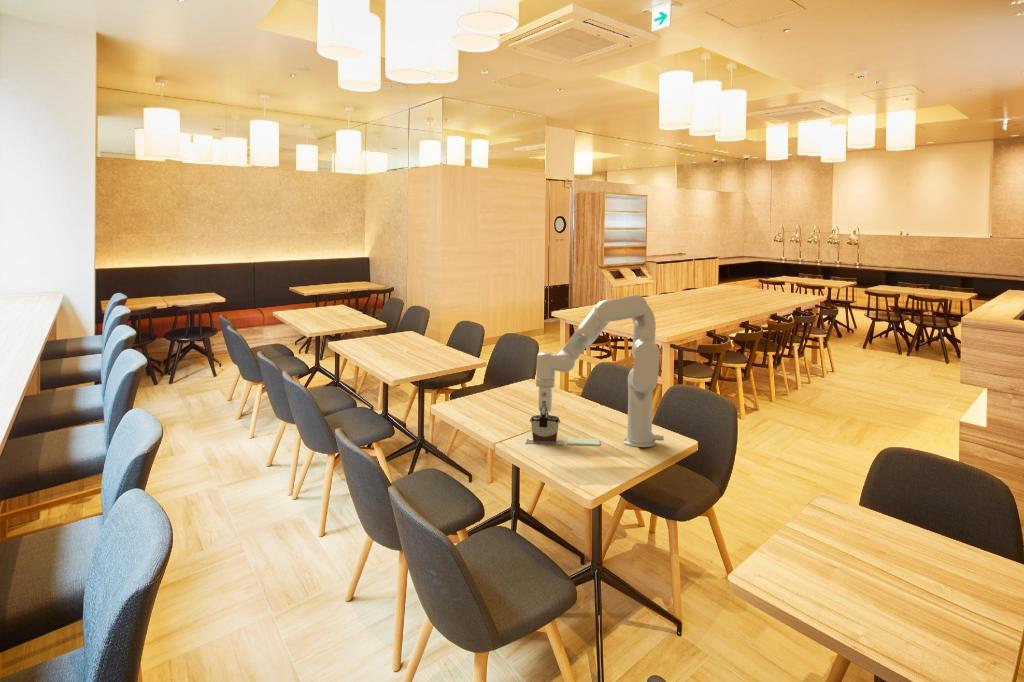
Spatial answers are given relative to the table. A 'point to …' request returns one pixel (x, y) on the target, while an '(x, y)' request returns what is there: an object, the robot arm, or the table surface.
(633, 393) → the robot arm
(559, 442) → the tile
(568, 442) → the pad
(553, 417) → the food container
